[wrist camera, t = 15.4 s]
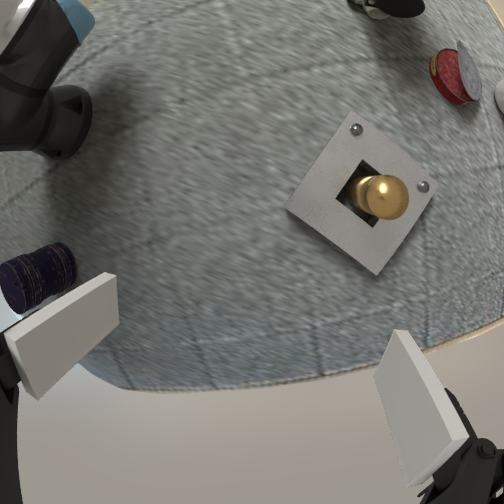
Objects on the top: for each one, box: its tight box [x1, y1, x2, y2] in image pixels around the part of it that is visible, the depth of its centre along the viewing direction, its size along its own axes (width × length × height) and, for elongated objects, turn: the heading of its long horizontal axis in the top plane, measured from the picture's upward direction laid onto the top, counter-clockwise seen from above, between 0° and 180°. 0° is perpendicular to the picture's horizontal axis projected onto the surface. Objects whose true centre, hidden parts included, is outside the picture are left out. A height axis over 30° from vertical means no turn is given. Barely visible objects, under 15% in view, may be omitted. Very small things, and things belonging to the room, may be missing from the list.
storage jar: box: [0, 242, 77, 314], centre depth 40 cm, size 10×10×15 cm
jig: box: [284, 110, 439, 276], centre depth 34 cm, size 16×16×4 cm
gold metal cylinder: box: [346, 175, 409, 220], centre depth 30 cm, size 5×5×12 cm
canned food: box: [429, 40, 482, 105], centre depth 25 cm, size 11×10×10 cm
